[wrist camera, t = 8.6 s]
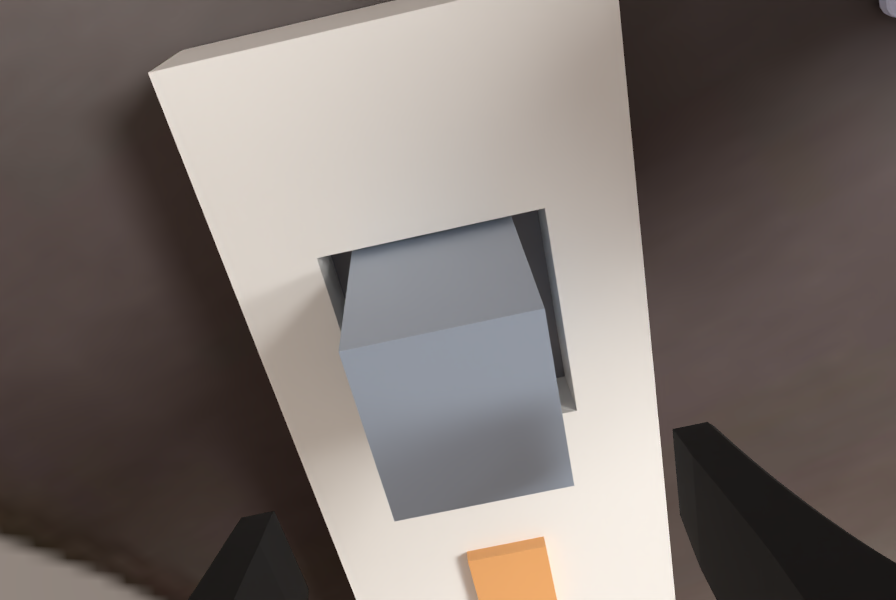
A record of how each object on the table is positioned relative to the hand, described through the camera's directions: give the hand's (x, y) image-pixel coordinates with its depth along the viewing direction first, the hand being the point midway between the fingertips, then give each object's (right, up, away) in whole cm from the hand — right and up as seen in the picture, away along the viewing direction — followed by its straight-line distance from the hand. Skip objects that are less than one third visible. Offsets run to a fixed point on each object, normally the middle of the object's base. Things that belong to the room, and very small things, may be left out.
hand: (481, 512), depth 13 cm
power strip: (0, +2, +9) cm, 10 cm away
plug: (-1, +4, +7) cm, 8 cm away
